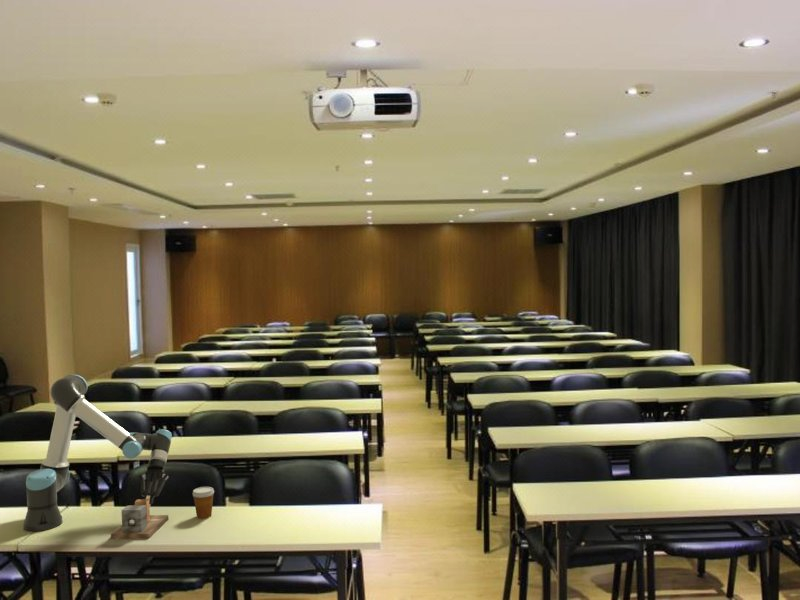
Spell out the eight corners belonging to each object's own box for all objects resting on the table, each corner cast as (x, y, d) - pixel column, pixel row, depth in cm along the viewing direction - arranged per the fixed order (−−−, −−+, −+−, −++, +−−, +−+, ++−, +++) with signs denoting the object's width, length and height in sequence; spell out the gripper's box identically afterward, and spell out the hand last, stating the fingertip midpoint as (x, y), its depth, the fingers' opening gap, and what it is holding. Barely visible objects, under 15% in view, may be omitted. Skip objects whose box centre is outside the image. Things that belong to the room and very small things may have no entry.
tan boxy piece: (125, 530, 290) (125, 509, 290) (138, 519, 303) (137, 499, 303) (137, 530, 290) (136, 509, 290) (149, 519, 303) (149, 499, 303)
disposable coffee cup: (192, 521, 307) (191, 494, 307) (193, 514, 316) (192, 487, 316) (215, 518, 310) (214, 491, 309) (215, 511, 319) (214, 485, 318)
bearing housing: (110, 538, 288) (109, 512, 288) (132, 520, 310) (131, 495, 310) (149, 538, 288) (148, 511, 288) (168, 519, 310) (167, 494, 309)
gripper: (174, 465, 322) (163, 514, 307) (145, 466, 323) (133, 515, 307) (169, 457, 317) (158, 506, 301) (140, 458, 317) (128, 507, 301)
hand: (146, 510), depth 304 cm, fingers closed
